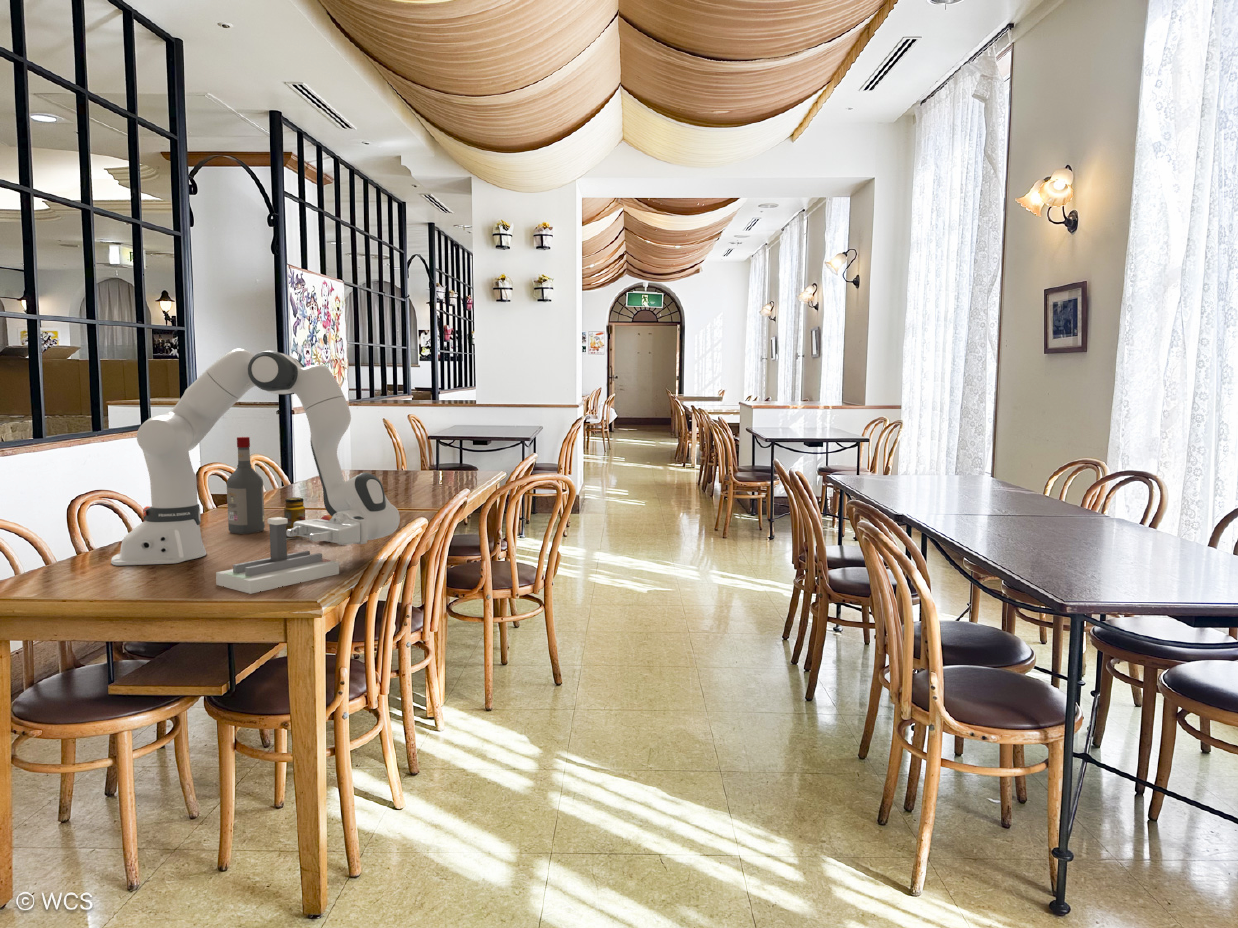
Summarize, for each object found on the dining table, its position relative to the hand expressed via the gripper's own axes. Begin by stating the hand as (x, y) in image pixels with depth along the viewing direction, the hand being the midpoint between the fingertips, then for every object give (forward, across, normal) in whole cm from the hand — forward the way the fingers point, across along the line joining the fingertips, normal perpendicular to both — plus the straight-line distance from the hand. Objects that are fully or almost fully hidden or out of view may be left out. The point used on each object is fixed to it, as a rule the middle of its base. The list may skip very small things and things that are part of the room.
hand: (299, 535), depth 206 cm
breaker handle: (+6, 0, +7) cm, 9 cm away
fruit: (-31, -30, +10) cm, 44 cm away
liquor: (-25, -64, +10) cm, 70 cm away
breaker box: (+6, 0, +10) cm, 12 cm away
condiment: (-28, -45, +10) cm, 54 cm away
